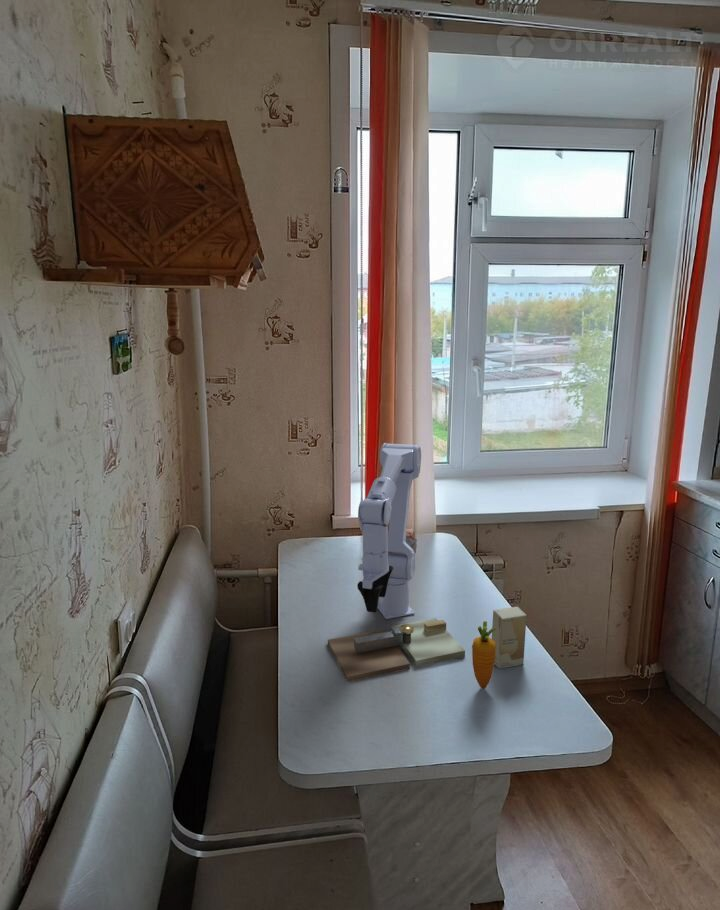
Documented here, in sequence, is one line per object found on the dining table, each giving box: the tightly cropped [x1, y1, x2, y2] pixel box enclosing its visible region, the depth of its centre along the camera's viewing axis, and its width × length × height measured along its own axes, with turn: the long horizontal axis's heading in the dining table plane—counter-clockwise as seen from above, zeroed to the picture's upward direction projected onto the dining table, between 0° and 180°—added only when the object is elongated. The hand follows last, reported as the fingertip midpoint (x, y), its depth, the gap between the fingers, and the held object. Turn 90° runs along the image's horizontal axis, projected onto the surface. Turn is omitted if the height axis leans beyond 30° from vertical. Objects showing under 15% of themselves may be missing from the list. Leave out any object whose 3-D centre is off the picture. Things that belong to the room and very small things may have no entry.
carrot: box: [471, 620, 496, 690], centre depth 129 cm, size 5×5×15 cm
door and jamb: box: [327, 617, 466, 682], centre depth 145 cm, size 16×28×4 cm, turn 108°
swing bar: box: [354, 623, 414, 653], centre depth 144 cm, size 14×3×3 cm, turn 108°
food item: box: [387, 527, 418, 556], centre depth 199 cm, size 14×8×10 cm, turn 94°
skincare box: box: [491, 606, 527, 669], centre depth 139 cm, size 6×4×12 cm
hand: (376, 603), depth 147 cm, fingers open, 7 cm apart
